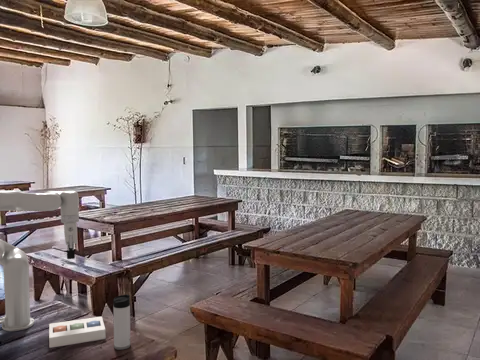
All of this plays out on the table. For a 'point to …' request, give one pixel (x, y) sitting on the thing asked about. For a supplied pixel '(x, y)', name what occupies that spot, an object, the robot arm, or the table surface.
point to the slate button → (93, 323)
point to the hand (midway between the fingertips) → (70, 258)
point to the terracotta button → (59, 329)
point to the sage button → (77, 326)
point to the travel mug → (121, 322)
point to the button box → (76, 332)
